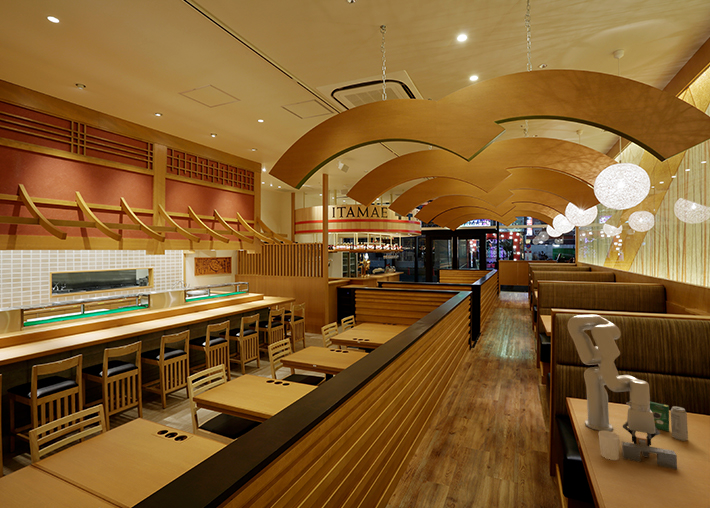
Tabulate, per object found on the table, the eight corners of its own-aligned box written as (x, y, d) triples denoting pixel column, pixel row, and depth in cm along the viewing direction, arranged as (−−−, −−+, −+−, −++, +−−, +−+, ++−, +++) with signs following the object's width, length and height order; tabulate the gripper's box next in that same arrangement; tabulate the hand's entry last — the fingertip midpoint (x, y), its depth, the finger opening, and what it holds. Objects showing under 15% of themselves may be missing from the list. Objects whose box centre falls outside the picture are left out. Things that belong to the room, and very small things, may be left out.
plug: (634, 441, 176) (634, 433, 176) (645, 443, 174) (645, 435, 174) (639, 455, 164) (639, 446, 164) (652, 457, 161) (651, 448, 162)
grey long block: (622, 454, 166) (621, 441, 166) (674, 464, 157) (673, 450, 157) (623, 458, 162) (623, 445, 162) (677, 469, 153) (676, 455, 153)
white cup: (616, 453, 167) (615, 431, 167) (623, 462, 159) (622, 439, 160) (596, 451, 169) (596, 429, 170) (602, 459, 162) (601, 437, 162)
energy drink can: (691, 441, 176) (689, 411, 176) (677, 441, 177) (675, 410, 177) (682, 436, 182) (681, 406, 182) (669, 435, 183) (667, 405, 183)
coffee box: (670, 430, 188) (669, 405, 189) (669, 432, 186) (668, 406, 187) (650, 425, 194) (649, 401, 194) (649, 427, 192) (648, 402, 192)
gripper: (619, 406, 173) (620, 444, 173) (664, 412, 165) (666, 453, 165) (617, 400, 180) (618, 437, 180) (660, 407, 172) (662, 445, 171)
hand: (641, 444), depth 172 cm, fingers closed on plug, 4 cm apart
